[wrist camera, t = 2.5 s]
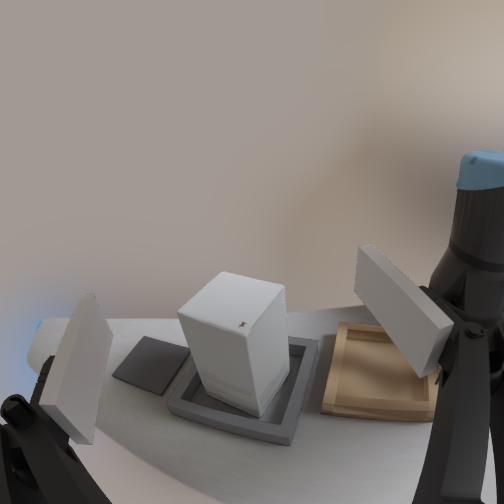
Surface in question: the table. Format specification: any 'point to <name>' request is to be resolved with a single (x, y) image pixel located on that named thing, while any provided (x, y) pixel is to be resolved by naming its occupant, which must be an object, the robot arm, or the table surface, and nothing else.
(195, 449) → the table surface
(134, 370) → the pad
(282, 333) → the supplement box
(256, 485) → the table surface
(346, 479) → the table surface
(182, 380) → the tray
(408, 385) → the wooden square tray
